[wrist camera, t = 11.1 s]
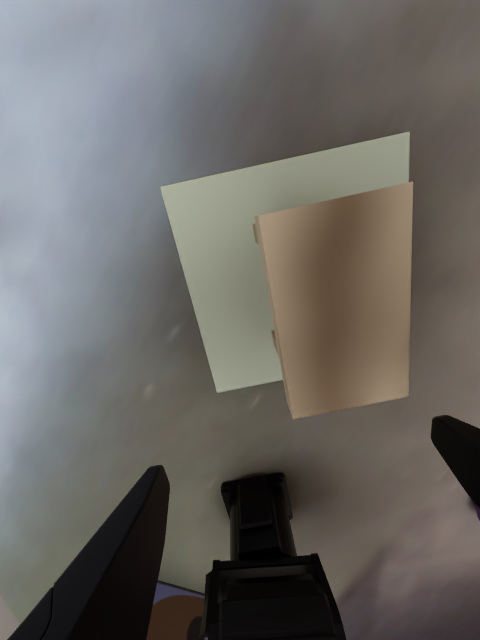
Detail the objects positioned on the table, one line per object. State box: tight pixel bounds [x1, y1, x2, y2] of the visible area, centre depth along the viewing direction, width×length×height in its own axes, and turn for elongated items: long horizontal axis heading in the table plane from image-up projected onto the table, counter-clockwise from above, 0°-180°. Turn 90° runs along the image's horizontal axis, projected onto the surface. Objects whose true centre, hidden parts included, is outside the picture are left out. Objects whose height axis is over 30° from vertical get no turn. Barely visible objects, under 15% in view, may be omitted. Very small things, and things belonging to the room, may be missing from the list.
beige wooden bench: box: [252, 182, 413, 419], centre depth 16 cm, size 6×10×8 cm, turn 11°
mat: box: [160, 132, 410, 393], centre depth 19 cm, size 16×16×1 cm
